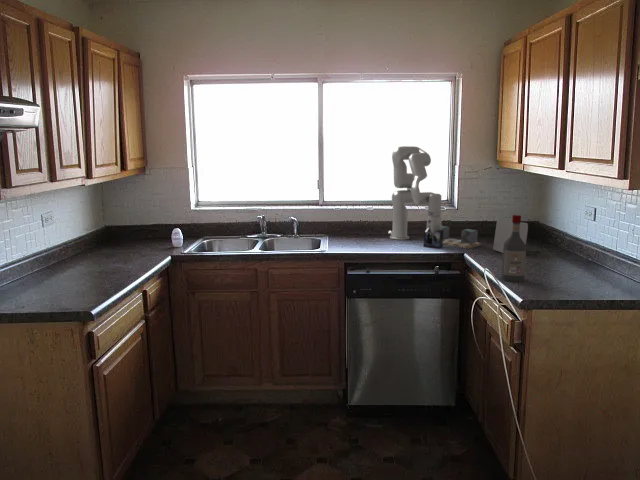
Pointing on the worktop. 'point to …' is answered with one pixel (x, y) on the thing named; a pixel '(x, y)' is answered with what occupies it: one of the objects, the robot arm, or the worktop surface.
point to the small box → (434, 239)
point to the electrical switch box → (507, 233)
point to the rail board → (466, 238)
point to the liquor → (514, 254)
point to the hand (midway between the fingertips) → (433, 242)
